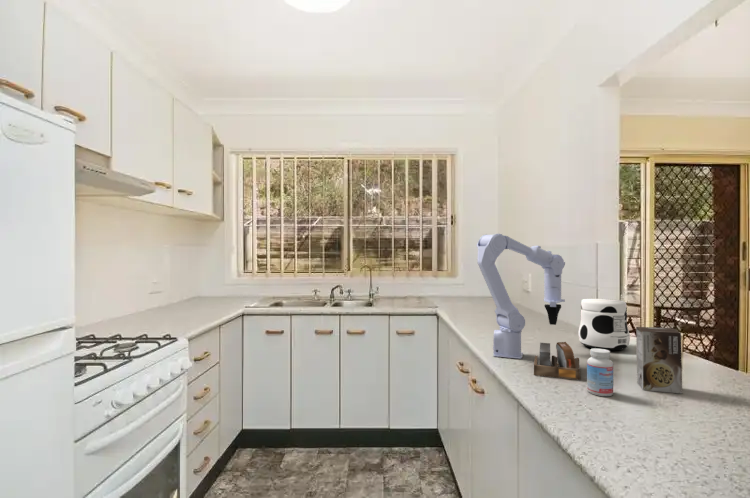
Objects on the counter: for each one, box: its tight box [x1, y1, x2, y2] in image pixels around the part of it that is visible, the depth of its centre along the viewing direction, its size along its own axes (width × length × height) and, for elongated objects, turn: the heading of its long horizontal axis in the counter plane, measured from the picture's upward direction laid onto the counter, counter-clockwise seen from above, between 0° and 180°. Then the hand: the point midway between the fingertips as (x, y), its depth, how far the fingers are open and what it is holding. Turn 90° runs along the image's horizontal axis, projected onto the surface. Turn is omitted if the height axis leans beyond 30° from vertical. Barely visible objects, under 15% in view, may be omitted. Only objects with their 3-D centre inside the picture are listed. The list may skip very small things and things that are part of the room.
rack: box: [533, 342, 581, 381], centre depth 129 cm, size 13×16×7 cm
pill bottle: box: [586, 348, 614, 397], centre depth 109 cm, size 6×6×11 cm
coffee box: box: [635, 326, 683, 394], centre depth 112 cm, size 9×6×16 cm
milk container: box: [578, 298, 631, 351], centre depth 158 cm, size 17×17×18 cm
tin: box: [555, 341, 576, 369], centre depth 128 cm, size 15×3×8 cm, turn 167°
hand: (552, 324), depth 151 cm, fingers closed
